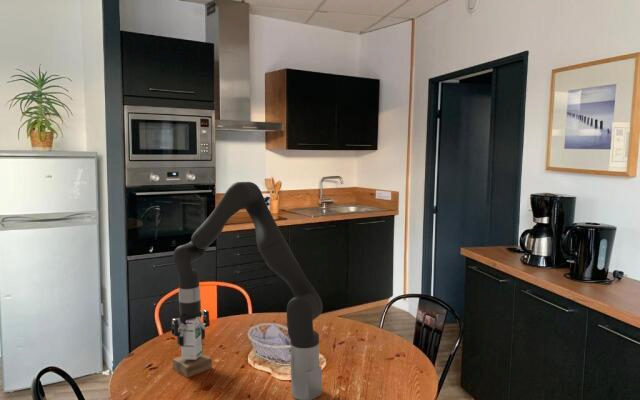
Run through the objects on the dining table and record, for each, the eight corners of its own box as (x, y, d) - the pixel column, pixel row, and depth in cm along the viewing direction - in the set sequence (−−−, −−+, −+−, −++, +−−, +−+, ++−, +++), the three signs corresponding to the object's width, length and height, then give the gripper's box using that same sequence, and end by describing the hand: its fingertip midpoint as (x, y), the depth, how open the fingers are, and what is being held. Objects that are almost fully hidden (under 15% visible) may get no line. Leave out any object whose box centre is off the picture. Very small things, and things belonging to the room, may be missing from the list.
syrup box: (196, 360, 169) (194, 320, 168) (181, 359, 170) (179, 319, 169) (203, 353, 175) (201, 315, 173) (188, 352, 176) (186, 314, 174)
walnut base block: (211, 368, 173) (211, 358, 173) (187, 378, 166) (186, 367, 166) (197, 360, 180) (196, 350, 180) (173, 369, 173) (172, 359, 173)
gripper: (176, 305, 163) (179, 351, 164) (212, 296, 173) (214, 339, 174) (166, 301, 168) (168, 345, 170) (201, 292, 178) (203, 334, 180)
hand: (191, 342), depth 172 cm, fingers closed on syrup box, 8 cm apart
